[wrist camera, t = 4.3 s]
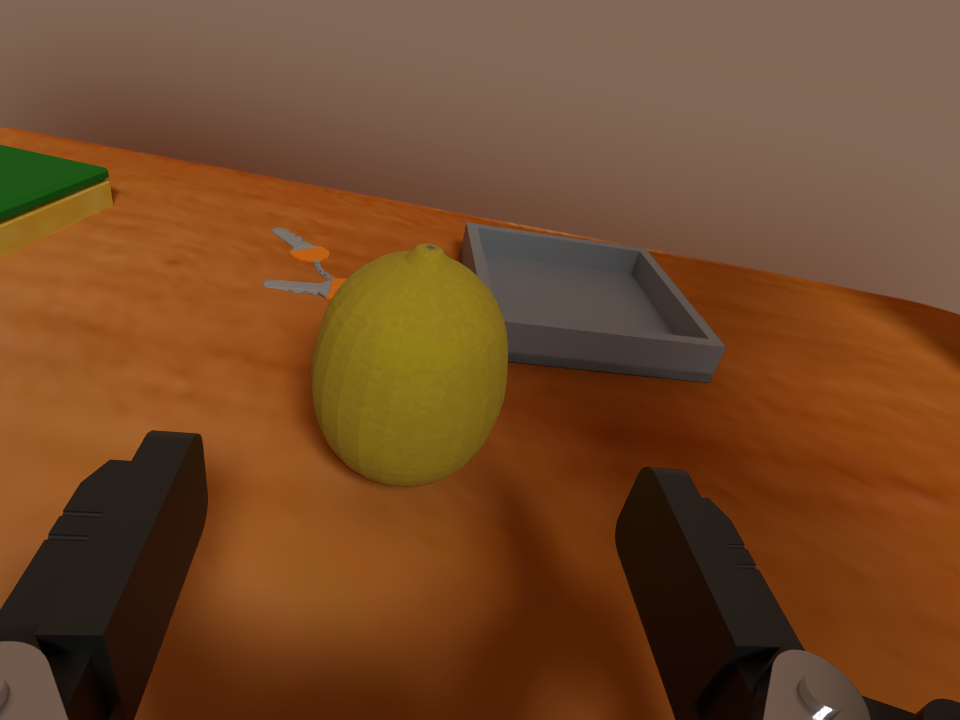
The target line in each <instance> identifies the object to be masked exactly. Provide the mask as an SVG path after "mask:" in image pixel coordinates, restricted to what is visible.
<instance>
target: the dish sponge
mask: <svg viewBox="0 0 960 720" xmlns="http://www.w3.org/2000/svg"><path fill="white" fill-rule="evenodd" d="M108 177H109V175H108V170H107V169H106V168H104V167H100V166H95V165H90V164H86V163H81V162H77V161H72V160H68V159H63V158H58V157H54V156H49V155H45V154H40V153H35V152H31V151H26V150H22V149H17V148H13V147H8V146H3V145H0V259H1V258H3V257H5V256H7V255H10V254H12V253H14V252H16V251H18V250H20V249H22V248H24V247H26V246H28V245H31V244H33V243H35V242H37V241H39V240H41V239H43V238H45V237H47V236H50V235H52V234H54V233H56V232H58V231H60V230H62V229H64V228H66V227H68V226H71V225H73V224H75V223H77V222H79V221H81V220H83V219H85V218H87V217H89V216H92V215H94V214H96V213H98V212H100V211H102V210H104V209H106V208H108V207H110V206H113V200H112V194H111V187H110V182H109V181H108V179H105V178H108Z"/></svg>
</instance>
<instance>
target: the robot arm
mask: <svg viewBox="0 0 960 720" xmlns="http://www.w3.org/2000/svg"><path fill="white" fill-rule="evenodd" d="M207 506H208V493H207V482H206V472H205V462H204V451H203V442H202V437H201V435H200V434H196V433H182V432H168V431H154V430H152V431H150V432H148V434H147V435H146V436H145V438H144V439H143V441H142V443H141V445H140V447H139V448H138V450H137V452H136V454H135V456H134V457H133V459H132V461H123V460H109V461H108V462H106V463H105V464H104V465H103V466H101V467H100V468H99V469H97V470H96V471H95V472H94V473H92V474H91V475H90V476H89V477H87V478H86V479H85V480H83V481H82V482H81V483H80V485H79V486H78V488H77V489H76V491H75V493H74V494H73V496H72V497H71V499H70V501H69V502H68V504H67V505H66V507H65V508H64V510H63V515H62V516H59V518H58V520H57V521H56V523H55V524H54V526H53V527H52V529H51V531H50V532H49V536H48V539H47V540H44V542H43V543H42V545H41V546H40V548H39V550H38V551H37V553H36V554H35V556H34V558H33V559H32V561H31V562H30V564H29V565H28V567H27V569H26V570H25V572H24V573H23V575H22V577H21V578H20V580H19V581H18V583H17V584H16V586H15V588H14V589H13V591H12V592H11V594H10V596H9V597H8V599H7V600H6V602H5V603H4V605H3V607H2V608H1V610H0V720H134V718H135V715H136V712H137V710H138V707H139V704H140V701H141V699H142V696H143V693H144V691H145V688H146V685H147V682H148V680H149V677H150V674H151V671H152V669H153V666H154V663H155V660H156V658H157V655H158V652H159V649H160V647H161V644H162V641H163V638H164V636H165V633H166V630H167V628H168V625H169V622H170V619H171V617H172V614H173V611H174V608H175V606H176V603H177V600H178V597H179V595H180V592H181V589H182V586H183V584H184V581H185V578H186V576H187V573H188V570H189V567H190V565H191V562H192V559H193V556H194V554H195V551H196V548H197V545H198V543H199V540H200V537H201V534H202V531H203V528H204V524H205V520H206V514H207ZM615 541H616V548H617V552H618V555H619V558H620V561H621V564H622V567H623V570H624V572H625V575H626V578H627V581H628V584H629V587H630V590H631V593H632V596H633V598H634V601H635V604H636V607H637V610H638V613H639V616H640V619H641V622H642V624H643V627H644V630H645V633H646V636H647V639H648V642H649V645H650V647H651V650H652V653H653V656H654V659H655V662H656V665H657V668H658V671H659V673H660V676H661V679H662V682H663V685H664V688H665V691H666V694H667V697H668V699H669V702H670V705H671V708H672V711H673V714H674V717H675V720H960V703H959V702H956V701H952V700H947V699H936V700H933V701H931V702H929V703H928V704H927V705H926V706H925V707H923V708H922V709H921V710H920V711H919V712H917V713H916V714H914V713H911V712H908V711H905V710H902V709H899V708H896V707H893V706H890V705H887V704H884V703H882V702H879V701H876V700H873V699H870V698H867V697H864V696H861V695H860V693H859V692H858V690H857V689H856V687H855V686H854V685H853V684H852V682H851V681H850V680H849V679H848V678H847V677H846V676H845V675H844V674H843V673H842V672H841V671H840V670H839V669H837V668H836V667H835V666H834V665H832V664H831V663H829V662H828V661H826V660H825V659H823V658H821V657H819V656H817V655H815V654H812V653H810V652H806V651H805V650H804V648H803V646H802V645H801V643H800V641H799V640H798V638H797V636H796V634H795V633H794V631H793V629H792V627H791V626H790V624H789V622H788V620H787V618H786V617H785V615H784V613H783V611H782V610H781V608H780V606H779V604H778V603H777V601H776V599H775V597H774V596H773V594H772V592H771V590H770V589H769V587H768V585H767V583H766V581H765V580H764V578H763V576H762V574H761V573H760V571H759V570H757V569H756V568H755V565H756V564H755V562H754V560H753V559H752V557H751V555H750V553H749V552H748V550H747V549H744V543H743V541H742V539H741V537H740V536H739V534H738V532H737V530H736V529H735V527H734V525H733V523H732V522H731V520H730V519H729V518H728V517H727V516H726V515H725V514H724V513H723V512H722V511H721V510H720V509H719V508H718V507H717V506H716V505H715V504H714V503H713V502H712V501H711V500H710V499H709V498H701V496H700V494H699V493H698V491H697V489H696V487H695V485H694V483H693V481H692V480H691V478H690V476H689V475H688V473H687V472H686V471H684V470H681V469H667V468H653V467H645V468H643V469H642V470H641V471H640V472H639V474H638V476H637V478H636V480H635V483H634V485H633V487H632V489H631V491H630V494H629V496H628V498H627V500H626V502H625V504H624V507H623V509H622V511H621V513H620V515H619V518H618V520H617V524H616V531H615Z"/></svg>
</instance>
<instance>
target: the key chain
mask: <svg viewBox="0 0 960 720" xmlns="http://www.w3.org/2000/svg"><path fill="white" fill-rule="evenodd" d="M271 231H272V232H274V233H275V234H276V235H278V236H279V237H280V238H282V239H283V240H284V241H286V242H287V243H288V244H290V245H291V246H292V247H293V249H292V250H291V251H289V253H290V255H291V256H292V257H293V258H296V259H298V260H300V261H305V262H314V266H315V268H316V270H317V272H319V274H320V275H322V276H325V278H326V279H328V281H325V282H323V283H308V282H294V281H279V280H266V281H265V282H264V283H263V284H264V287H269V288H276V289H284V290H283V291H287V292H288V291H289V290H293V293H296V294H298V293H303V292H308V294H313V295H314V296H318V293H319V294H320V295H322V296H323V297H325V300H329V301H331V299H332V297H333V296H334V294H335V292H336V291H337V290H338V289H339V287H340V286H341V285H342V284H343V283H344V282H345V281H346V280H347V279H343V278H335V277H333V276H330V275H329V274H328V273H326V272H325V271H324V270H323V269H322V268H321V265H320V262H322V261H324V260H327V259H328V258H329V256H330V253H329V251H328V250H327V249H325V248H323V247H321V246H314V245H311V244H310V243H307V242H305V241H304V242H302V241H303V240H302V237H300V236H299V237H295V236H296V234H291V233H290V232H288V231H290V230H289V229H284V228H274V229H271Z"/></svg>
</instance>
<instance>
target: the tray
mask: <svg viewBox="0 0 960 720" xmlns="http://www.w3.org/2000/svg"><path fill="white" fill-rule="evenodd" d="M461 260H462V264H463V265H464V266H466V267H467V268H469V269H470V270H471V271H472V272H473V273H475V274H476V275H477V276H478V277H479V279H480V280H481V281H482V282H483V283H484V284H485V285H486V286H487V288H488V289H489V290H490V291H491V293H492V294H493V296H494V298H495V299H496V301H497V304H498V306H499V309H500V311H501V314H502V316H503V319H504V322H505V326H506V331H507V340H508V362H516V363H526V364H536V365H545V366H555V367H564V368H574V369H583V370H593V371H602V372H612V373H622V374H631V375H641V376H650V377H660V378H669V379H679V380H688V381H698V382H707V383H709V382H710V380H711V378H712V376H713V374H714V372H715V370H716V368H717V366H718V364H719V362H720V360H721V358H722V355H723V353H724V351H725V349H726V346H725V345H724V344H723V343H722V341H721V340H720V339H719V338H718V336H717V335H716V334H715V333H714V332H713V330H712V329H711V328H710V327H709V325H708V324H707V323H706V322H705V320H704V319H703V318H702V317H701V316H700V314H699V313H698V312H697V311H696V309H695V308H694V307H693V306H692V305H691V303H690V302H689V301H688V300H687V298H686V297H685V296H684V295H683V294H682V292H681V291H680V290H679V289H678V287H677V286H676V285H675V284H674V282H673V281H672V280H671V279H670V278H669V276H668V275H667V274H666V273H665V271H664V270H663V269H662V268H661V267H660V265H659V264H658V263H657V262H656V260H655V259H654V258H653V257H652V256H651V254H650V253H649V252H648V251H647V249H644V248H638V247H631V246H624V245H617V244H610V243H603V242H597V241H590V240H583V239H576V238H569V237H563V236H556V235H549V234H542V233H535V232H529V231H522V230H515V229H508V228H501V227H495V226H488V225H481V224H474V223H467V222H466V227H465V233H464V238H463V244H462V249H461Z"/></svg>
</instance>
